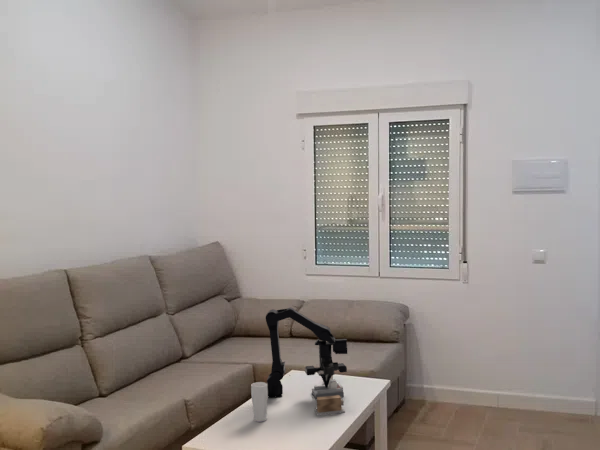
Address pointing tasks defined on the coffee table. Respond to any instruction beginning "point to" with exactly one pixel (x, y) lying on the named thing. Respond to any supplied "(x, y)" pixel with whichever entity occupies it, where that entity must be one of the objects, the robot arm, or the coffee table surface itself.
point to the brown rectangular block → (329, 403)
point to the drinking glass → (259, 400)
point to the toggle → (332, 384)
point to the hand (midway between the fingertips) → (326, 387)
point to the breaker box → (327, 391)
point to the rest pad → (329, 412)
